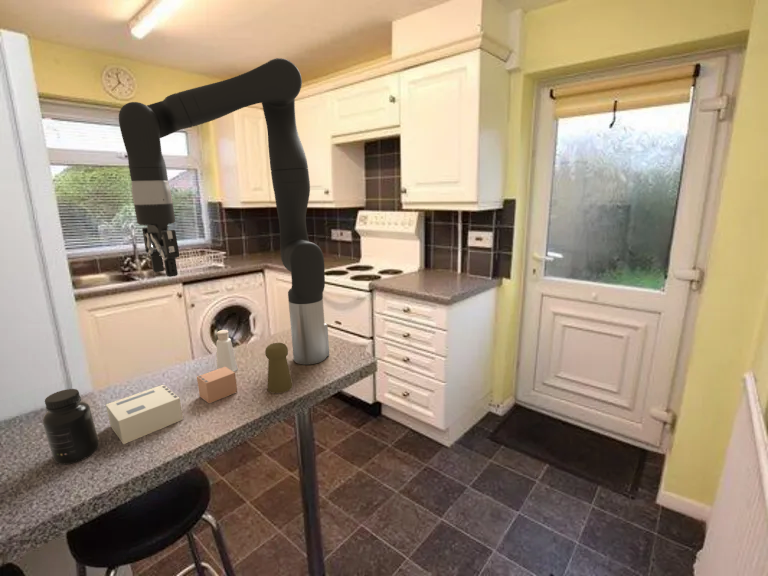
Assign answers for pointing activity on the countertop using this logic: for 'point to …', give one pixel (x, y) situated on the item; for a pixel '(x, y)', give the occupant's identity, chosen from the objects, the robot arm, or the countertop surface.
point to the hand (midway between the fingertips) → (165, 273)
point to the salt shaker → (225, 351)
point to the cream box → (144, 413)
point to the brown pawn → (278, 368)
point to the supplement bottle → (69, 427)
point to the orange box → (217, 384)
